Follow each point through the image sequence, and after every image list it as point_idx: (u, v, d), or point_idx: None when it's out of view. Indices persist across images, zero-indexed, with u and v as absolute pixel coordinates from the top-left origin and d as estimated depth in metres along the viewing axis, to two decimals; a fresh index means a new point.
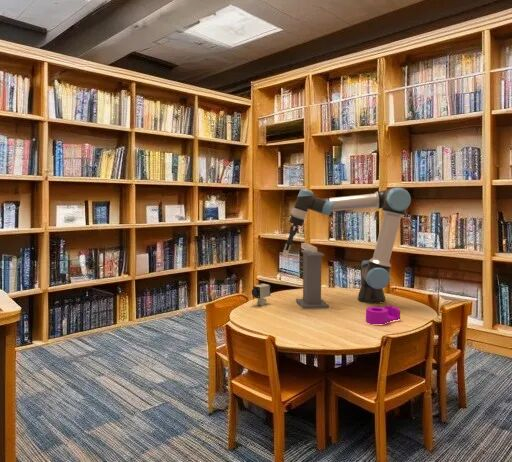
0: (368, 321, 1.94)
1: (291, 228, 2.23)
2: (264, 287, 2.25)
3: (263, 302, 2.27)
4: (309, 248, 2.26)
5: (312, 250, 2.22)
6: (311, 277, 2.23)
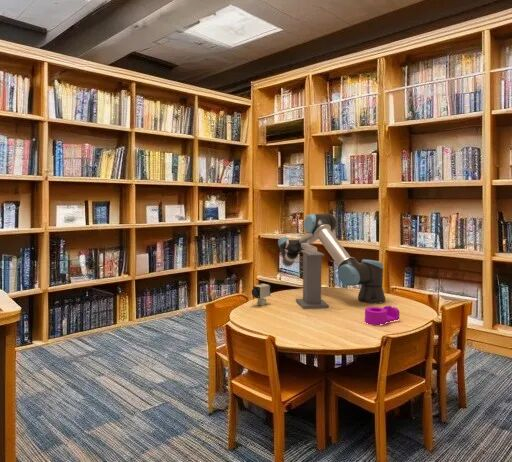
0: (367, 321, 1.94)
1: None
2: (264, 287, 2.25)
3: (263, 302, 2.27)
4: (309, 248, 2.26)
5: (312, 250, 2.22)
6: (311, 277, 2.23)
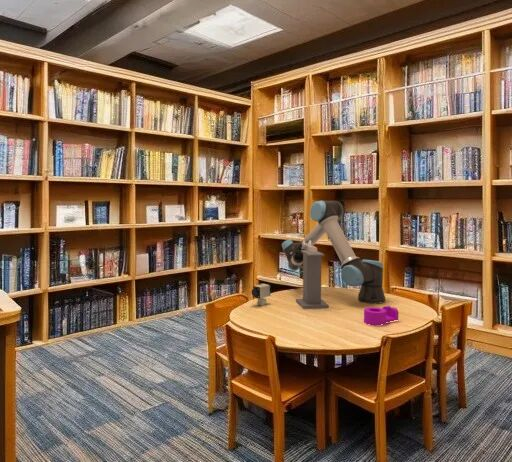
0: (366, 321, 1.94)
1: (298, 255, 2.50)
2: (264, 287, 2.25)
3: (263, 302, 2.27)
4: (309, 248, 2.26)
5: (312, 250, 2.22)
6: (311, 277, 2.23)
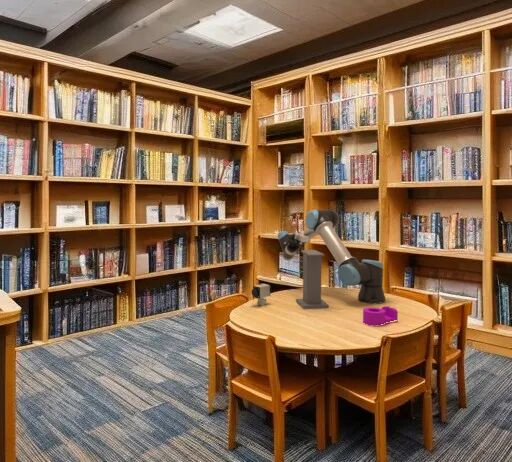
0: (365, 322, 1.93)
1: (291, 245, 2.65)
2: (264, 287, 2.25)
3: (263, 302, 2.27)
4: (301, 237, 2.41)
5: (304, 239, 2.37)
6: (311, 277, 2.23)
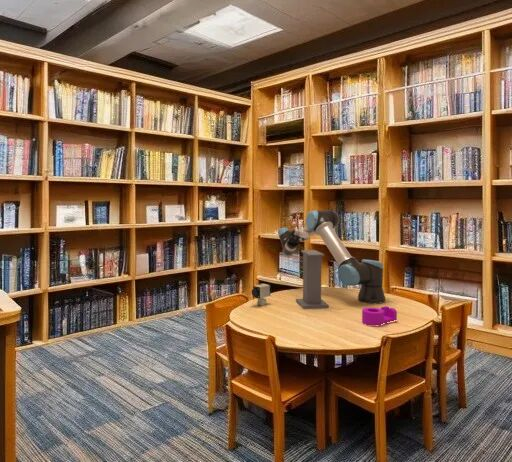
0: (364, 322, 1.93)
1: (291, 241, 2.67)
2: (264, 287, 2.25)
3: (263, 302, 2.27)
4: (301, 233, 2.43)
5: (303, 235, 2.39)
6: (311, 277, 2.23)
